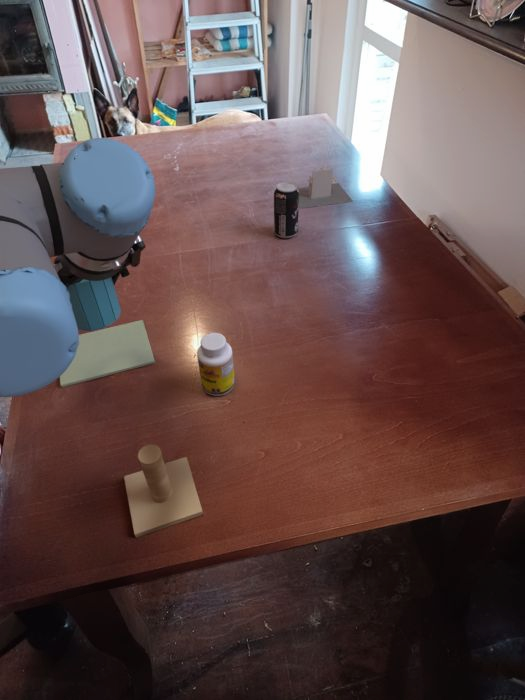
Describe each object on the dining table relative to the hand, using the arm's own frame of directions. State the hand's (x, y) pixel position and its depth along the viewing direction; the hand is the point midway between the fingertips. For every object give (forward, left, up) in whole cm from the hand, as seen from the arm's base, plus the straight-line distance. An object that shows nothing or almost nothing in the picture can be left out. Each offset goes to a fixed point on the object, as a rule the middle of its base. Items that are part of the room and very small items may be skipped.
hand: (81, 288), depth 72 cm
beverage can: (+46, +29, -17) cm, 57 cm away
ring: (+1, -3, -3) cm, 4 cm away
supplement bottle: (+17, -12, -17) cm, 27 cm away
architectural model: (+62, +44, -17) cm, 78 cm away
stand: (+4, -29, -17) cm, 33 cm away
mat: (0, +3, -17) cm, 17 cm away
